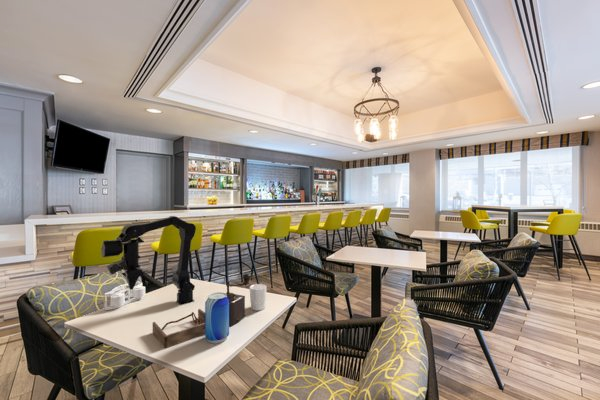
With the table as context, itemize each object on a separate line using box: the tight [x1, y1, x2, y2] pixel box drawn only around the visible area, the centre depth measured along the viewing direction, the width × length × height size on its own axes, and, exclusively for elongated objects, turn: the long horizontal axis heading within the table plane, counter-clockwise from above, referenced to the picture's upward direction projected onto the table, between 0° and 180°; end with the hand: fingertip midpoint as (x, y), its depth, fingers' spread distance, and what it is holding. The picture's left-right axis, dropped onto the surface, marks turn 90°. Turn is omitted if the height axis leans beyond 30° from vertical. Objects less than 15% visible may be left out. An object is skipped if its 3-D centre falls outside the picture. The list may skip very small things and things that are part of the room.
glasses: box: [161, 311, 203, 331], centre depth 106 cm, size 13×13×5 cm
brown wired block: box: [152, 308, 205, 349], centre depth 105 cm, size 19×15×4 cm
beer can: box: [204, 292, 230, 344], centre depth 100 cm, size 8×8×16 cm
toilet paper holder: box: [104, 280, 146, 311], centre depth 135 cm, size 20×11×7 cm, turn 158°
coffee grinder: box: [224, 273, 252, 328], centre depth 118 cm, size 16×11×18 cm
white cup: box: [249, 283, 268, 311], centre depth 128 cm, size 8×8×10 cm
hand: (131, 289), depth 118 cm, fingers closed
